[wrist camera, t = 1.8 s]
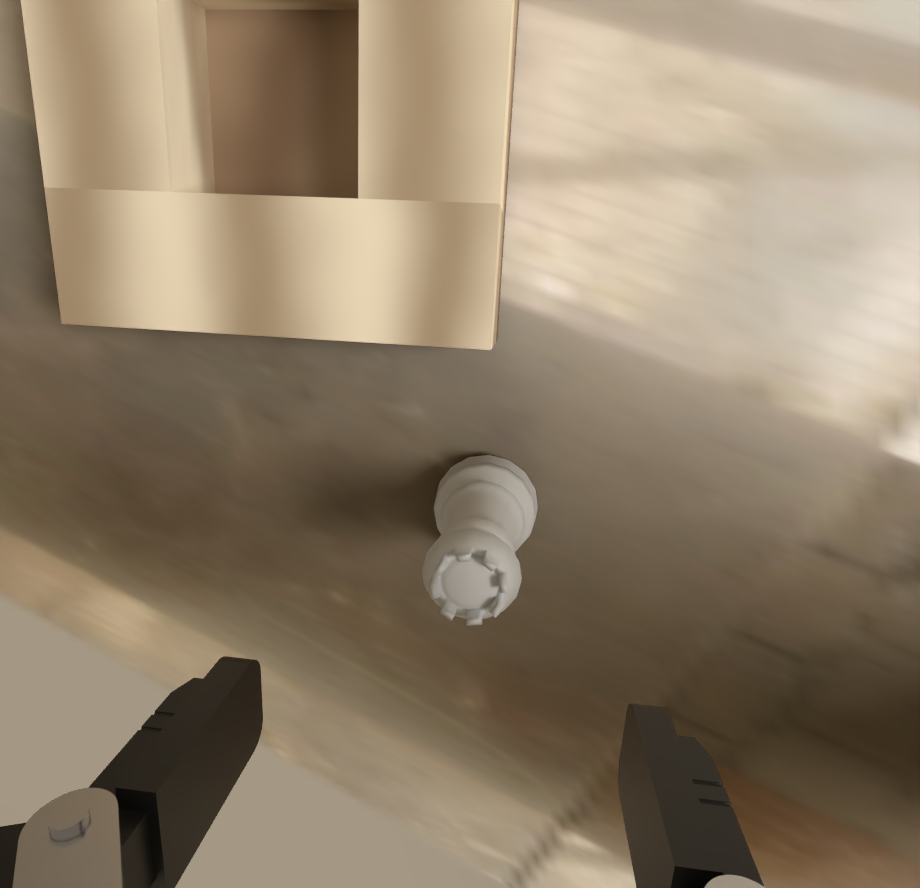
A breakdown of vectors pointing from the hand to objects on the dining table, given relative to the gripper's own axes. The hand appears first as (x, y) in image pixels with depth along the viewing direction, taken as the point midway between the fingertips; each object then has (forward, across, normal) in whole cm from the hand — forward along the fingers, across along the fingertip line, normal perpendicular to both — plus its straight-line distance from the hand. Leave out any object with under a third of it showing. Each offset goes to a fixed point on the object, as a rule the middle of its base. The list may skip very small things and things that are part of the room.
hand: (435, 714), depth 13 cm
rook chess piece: (+14, 0, 0) cm, 14 cm away
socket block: (+14, +8, -15) cm, 22 cm away
